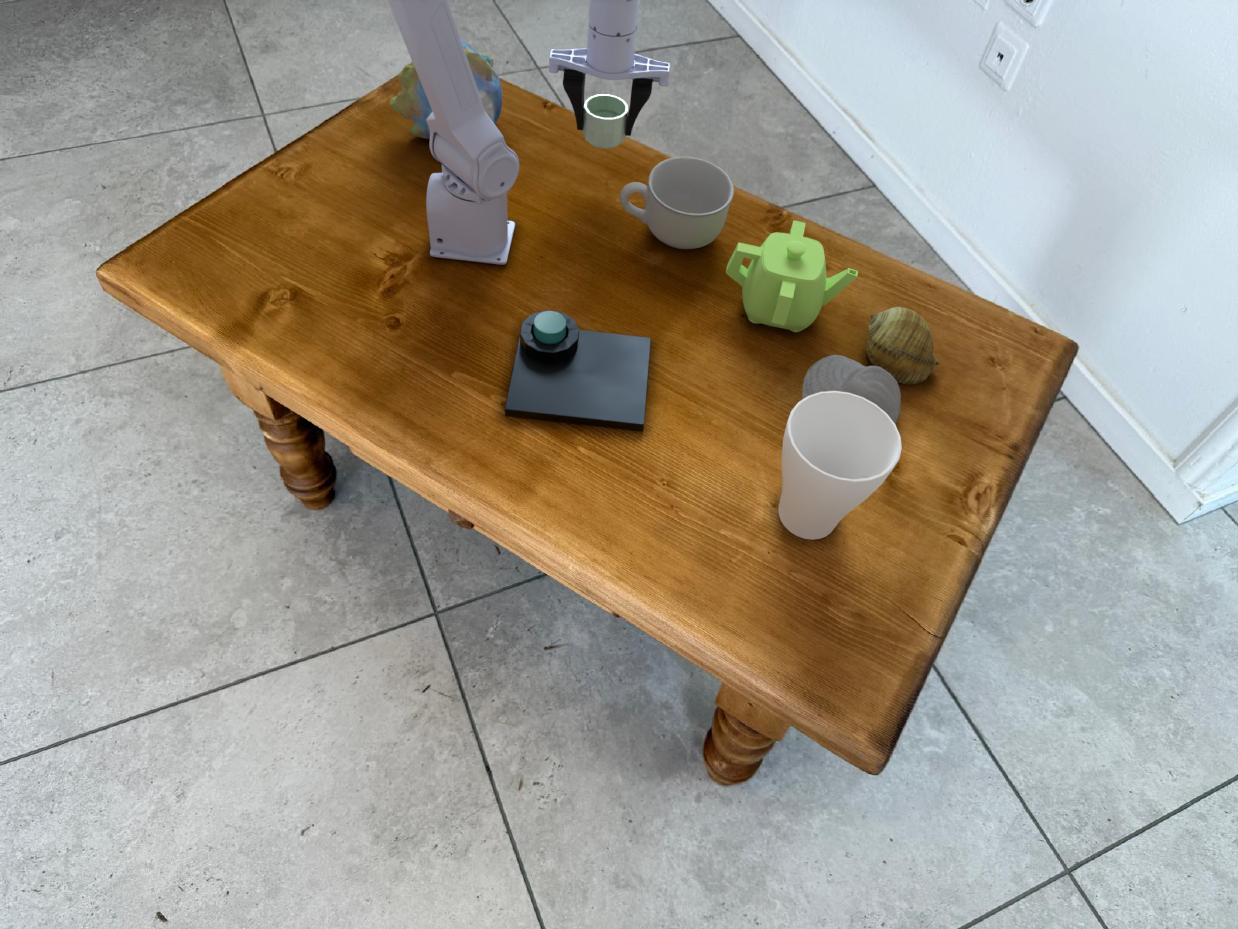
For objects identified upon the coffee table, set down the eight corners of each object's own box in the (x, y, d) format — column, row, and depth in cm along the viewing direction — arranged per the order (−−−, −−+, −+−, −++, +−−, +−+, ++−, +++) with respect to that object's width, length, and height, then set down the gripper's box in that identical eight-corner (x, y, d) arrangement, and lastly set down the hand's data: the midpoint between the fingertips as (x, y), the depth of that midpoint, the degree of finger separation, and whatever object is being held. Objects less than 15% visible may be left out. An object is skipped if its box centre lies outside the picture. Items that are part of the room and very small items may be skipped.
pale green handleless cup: (580, 148, 113) (581, 116, 110) (584, 122, 117) (586, 91, 113) (623, 153, 113) (626, 122, 110) (626, 127, 117) (629, 96, 113)
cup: (831, 465, 95) (870, 382, 84) (875, 547, 89) (922, 469, 78) (741, 483, 92) (769, 400, 82) (779, 569, 87) (815, 492, 76)
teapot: (769, 355, 104) (789, 293, 96) (711, 295, 109) (726, 231, 101) (843, 322, 108) (868, 260, 100) (785, 265, 113) (804, 202, 105)
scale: (504, 416, 95) (504, 398, 93) (523, 325, 103) (522, 307, 101) (643, 431, 96) (645, 414, 93) (650, 340, 104) (653, 321, 101)
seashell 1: (795, 372, 102) (788, 429, 95) (816, 336, 98) (810, 393, 91) (888, 406, 103) (888, 465, 96) (912, 372, 99) (914, 431, 92)
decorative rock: (467, 59, 107) (498, 5, 117) (352, 76, 112) (390, 23, 121) (503, 161, 118) (528, 104, 127) (396, 174, 122) (428, 117, 131)
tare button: (531, 342, 98) (531, 331, 97) (535, 320, 100) (536, 308, 99) (563, 346, 98) (564, 335, 97) (567, 323, 101) (568, 312, 99)
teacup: (724, 213, 119) (735, 161, 112) (722, 267, 112) (733, 215, 106) (621, 200, 119) (626, 147, 112) (613, 253, 112) (618, 201, 106)
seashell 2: (914, 391, 108) (953, 334, 105) (921, 400, 101) (963, 339, 99) (845, 350, 108) (882, 293, 106) (847, 356, 102) (887, 295, 99)
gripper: (676, 14, 105) (662, 117, 116) (555, -1, 105) (552, 104, 116) (673, 44, 101) (659, 148, 112) (547, 29, 101) (545, 135, 112)
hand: (604, 128), depth 114 cm, fingers closed on pale green handleless cup, 5 cm apart
